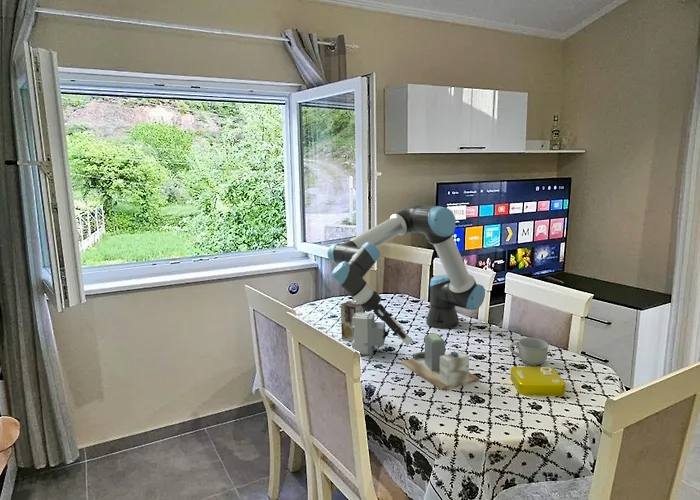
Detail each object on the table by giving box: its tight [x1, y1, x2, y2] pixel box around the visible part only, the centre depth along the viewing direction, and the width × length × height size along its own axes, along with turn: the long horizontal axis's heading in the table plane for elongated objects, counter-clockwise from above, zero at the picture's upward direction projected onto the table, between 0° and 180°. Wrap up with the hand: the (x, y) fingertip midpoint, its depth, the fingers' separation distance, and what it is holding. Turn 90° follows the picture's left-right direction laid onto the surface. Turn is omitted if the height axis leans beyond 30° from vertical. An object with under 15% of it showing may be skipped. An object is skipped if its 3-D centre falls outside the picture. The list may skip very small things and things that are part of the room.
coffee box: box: [340, 300, 366, 343], centre depth 222 cm, size 9×6×16 cm
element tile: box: [510, 366, 566, 397], centre depth 174 cm, size 15×15×5 cm
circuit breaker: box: [351, 312, 390, 355], centre depth 208 cm, size 8×14×15 cm, turn 78°
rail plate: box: [400, 350, 480, 391], centre depth 186 cm, size 16×26×11 cm, turn 26°
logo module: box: [424, 332, 446, 371], centre depth 188 cm, size 5×8×12 cm, turn 10°
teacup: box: [508, 337, 549, 366], centre depth 194 cm, size 14×11×8 cm
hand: (405, 336), depth 188 cm, fingers open, 13 cm apart
